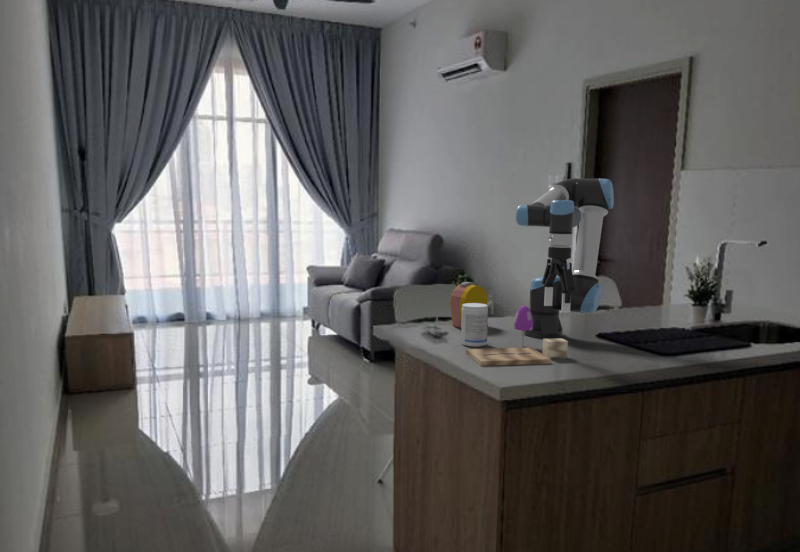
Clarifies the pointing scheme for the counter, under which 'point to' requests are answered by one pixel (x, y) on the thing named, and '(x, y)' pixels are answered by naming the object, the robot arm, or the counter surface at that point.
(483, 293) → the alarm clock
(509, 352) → the board
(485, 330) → the supplement tub
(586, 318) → the counter surface
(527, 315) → the toy
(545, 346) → the block
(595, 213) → the robot arm
